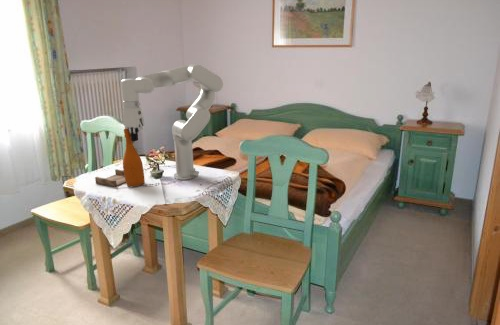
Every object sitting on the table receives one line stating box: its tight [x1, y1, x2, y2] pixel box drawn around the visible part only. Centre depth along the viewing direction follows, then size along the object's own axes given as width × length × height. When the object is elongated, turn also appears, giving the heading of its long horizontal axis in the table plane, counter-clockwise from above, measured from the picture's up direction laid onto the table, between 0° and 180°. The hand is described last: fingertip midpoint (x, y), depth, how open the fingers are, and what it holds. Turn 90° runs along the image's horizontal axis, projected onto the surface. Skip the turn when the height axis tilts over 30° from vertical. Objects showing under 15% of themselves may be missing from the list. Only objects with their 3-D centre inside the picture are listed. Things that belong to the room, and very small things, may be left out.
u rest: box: [94, 169, 126, 188], centre depth 210 cm, size 14×15×4 cm
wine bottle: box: [122, 127, 146, 188], centre depth 200 cm, size 10×10×30 cm
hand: (134, 140), depth 196 cm, fingers closed
